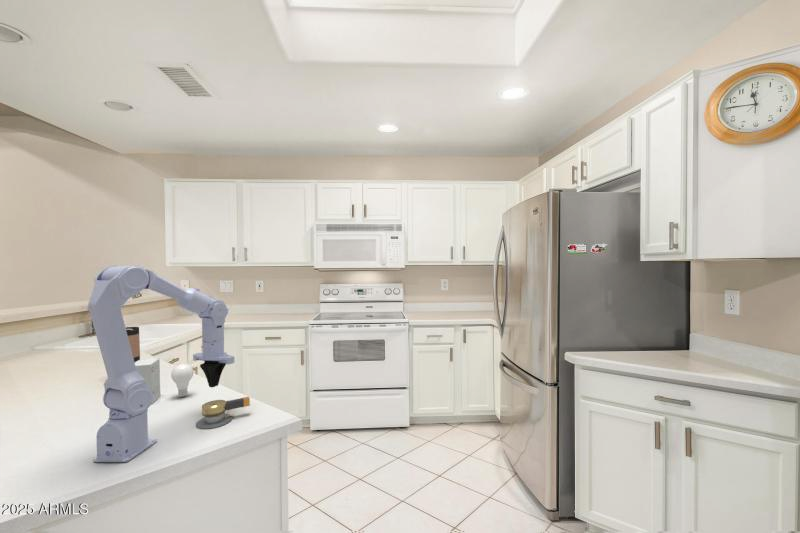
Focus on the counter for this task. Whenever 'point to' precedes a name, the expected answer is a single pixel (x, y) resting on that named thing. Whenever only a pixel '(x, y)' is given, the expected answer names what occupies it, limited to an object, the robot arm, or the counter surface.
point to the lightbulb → (182, 378)
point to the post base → (210, 426)
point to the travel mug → (134, 341)
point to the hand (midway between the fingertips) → (213, 386)
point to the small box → (150, 375)
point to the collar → (223, 406)
